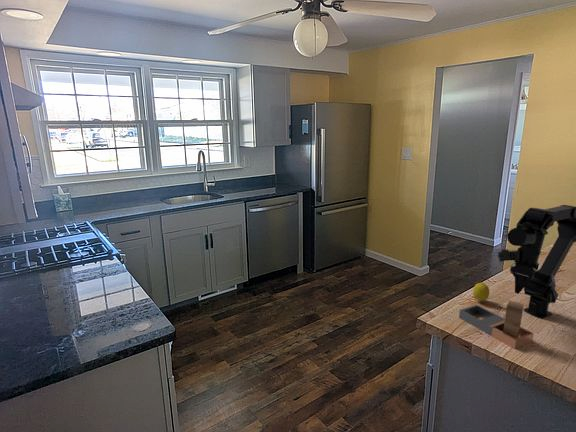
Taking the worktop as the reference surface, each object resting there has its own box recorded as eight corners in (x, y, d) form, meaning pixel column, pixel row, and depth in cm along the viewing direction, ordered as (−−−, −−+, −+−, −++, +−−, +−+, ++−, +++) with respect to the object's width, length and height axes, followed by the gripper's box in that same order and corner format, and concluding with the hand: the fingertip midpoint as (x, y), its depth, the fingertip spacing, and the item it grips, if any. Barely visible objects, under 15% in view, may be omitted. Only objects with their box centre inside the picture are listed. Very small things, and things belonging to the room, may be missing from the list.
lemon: (474, 296, 144) (476, 278, 142) (489, 300, 141) (491, 281, 138) (470, 302, 140) (472, 283, 138) (486, 306, 136) (488, 287, 134)
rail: (475, 311, 133) (476, 304, 132) (532, 341, 115) (533, 332, 114) (459, 317, 129) (459, 309, 129) (514, 348, 111) (516, 339, 110)
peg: (504, 333, 120) (509, 300, 116) (518, 337, 117) (523, 303, 114) (502, 338, 117) (507, 305, 114) (516, 343, 114) (521, 309, 111)
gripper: (507, 237, 131) (496, 278, 134) (498, 241, 117) (486, 287, 119) (544, 246, 124) (532, 289, 127) (539, 251, 110) (525, 299, 112)
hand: (518, 290), depth 121 cm, fingers open, 9 cm apart
